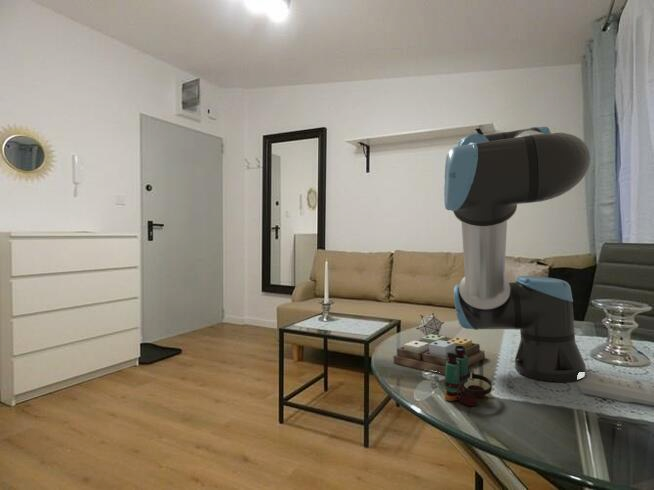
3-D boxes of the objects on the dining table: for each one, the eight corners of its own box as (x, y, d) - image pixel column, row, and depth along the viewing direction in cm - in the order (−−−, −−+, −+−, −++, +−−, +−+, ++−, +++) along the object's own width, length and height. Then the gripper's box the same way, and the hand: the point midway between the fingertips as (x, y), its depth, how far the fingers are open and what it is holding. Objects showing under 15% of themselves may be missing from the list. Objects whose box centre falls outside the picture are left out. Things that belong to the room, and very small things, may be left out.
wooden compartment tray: (484, 357, 108) (483, 343, 108) (450, 376, 96) (449, 360, 96) (430, 347, 122) (429, 335, 121) (393, 362, 110) (392, 349, 110)
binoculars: (485, 363, 76) (437, 352, 82) (484, 415, 76) (436, 400, 83) (498, 351, 82) (453, 341, 89) (497, 398, 83) (452, 385, 90)
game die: (436, 348, 133) (445, 329, 127) (412, 340, 134) (420, 320, 128) (439, 330, 140) (447, 311, 134) (416, 322, 141) (423, 303, 135)
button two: (456, 353, 103) (455, 341, 102) (446, 358, 99) (445, 346, 99) (440, 350, 106) (439, 339, 106) (429, 355, 103) (428, 343, 103)
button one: (429, 353, 109) (428, 342, 109) (419, 358, 106) (418, 346, 106) (415, 350, 113) (414, 339, 113) (404, 354, 109) (403, 343, 109)
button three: (445, 346, 115) (445, 335, 114) (436, 350, 111) (435, 339, 111) (431, 343, 118) (430, 333, 118) (422, 347, 115) (421, 337, 115)
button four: (472, 350, 108) (471, 339, 108) (463, 354, 105) (462, 343, 105) (456, 347, 112) (455, 336, 112) (447, 351, 109) (446, 340, 109)
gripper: (473, 192, 121) (478, 266, 122) (451, 191, 113) (457, 271, 113) (496, 188, 116) (502, 266, 116) (475, 187, 107) (481, 271, 107)
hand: (480, 268), depth 114 cm, fingers closed
